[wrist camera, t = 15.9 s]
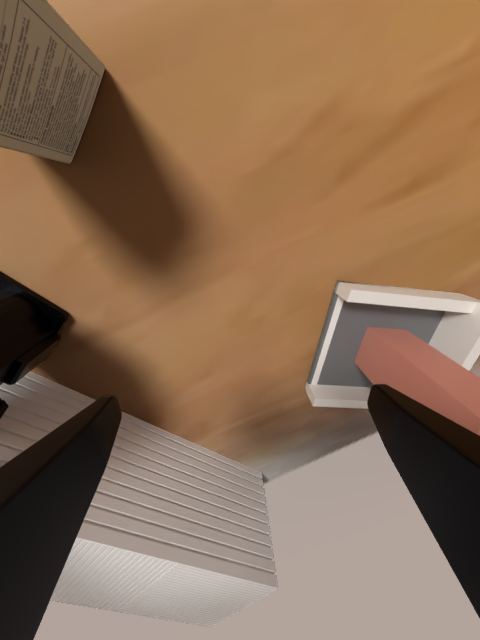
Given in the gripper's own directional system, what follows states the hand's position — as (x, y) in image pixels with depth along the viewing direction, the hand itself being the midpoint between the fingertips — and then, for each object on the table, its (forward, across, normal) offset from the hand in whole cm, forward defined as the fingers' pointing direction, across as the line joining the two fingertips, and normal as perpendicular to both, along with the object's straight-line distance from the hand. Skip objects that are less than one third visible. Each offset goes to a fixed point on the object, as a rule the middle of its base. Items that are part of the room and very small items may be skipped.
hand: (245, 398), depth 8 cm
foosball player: (+13, -14, +6) cm, 20 cm away
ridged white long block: (+13, +13, +20) cm, 27 cm away
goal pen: (+13, -14, +6) cm, 20 cm away
